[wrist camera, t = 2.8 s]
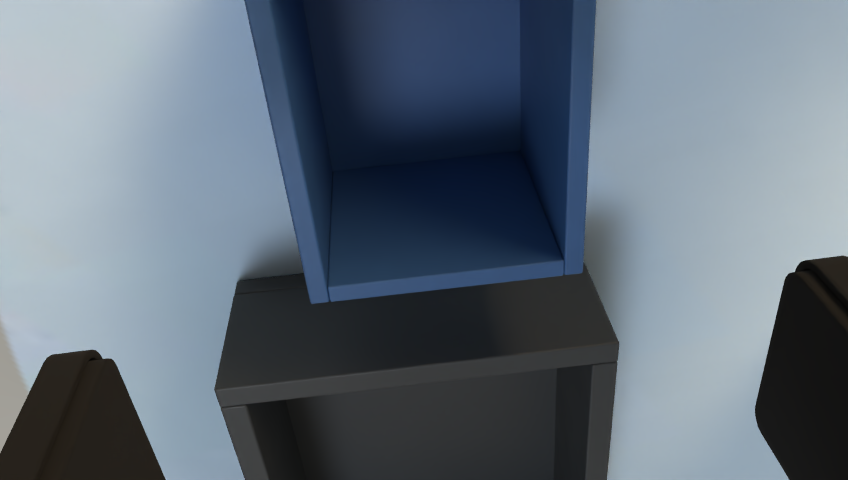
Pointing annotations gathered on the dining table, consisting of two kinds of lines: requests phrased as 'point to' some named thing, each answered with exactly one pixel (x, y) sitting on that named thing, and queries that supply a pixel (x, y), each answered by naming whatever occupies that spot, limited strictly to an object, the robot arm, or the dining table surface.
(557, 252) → the nested bin
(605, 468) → the base bin
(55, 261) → the dining table surface
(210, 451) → the dining table surface
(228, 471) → the dining table surface
